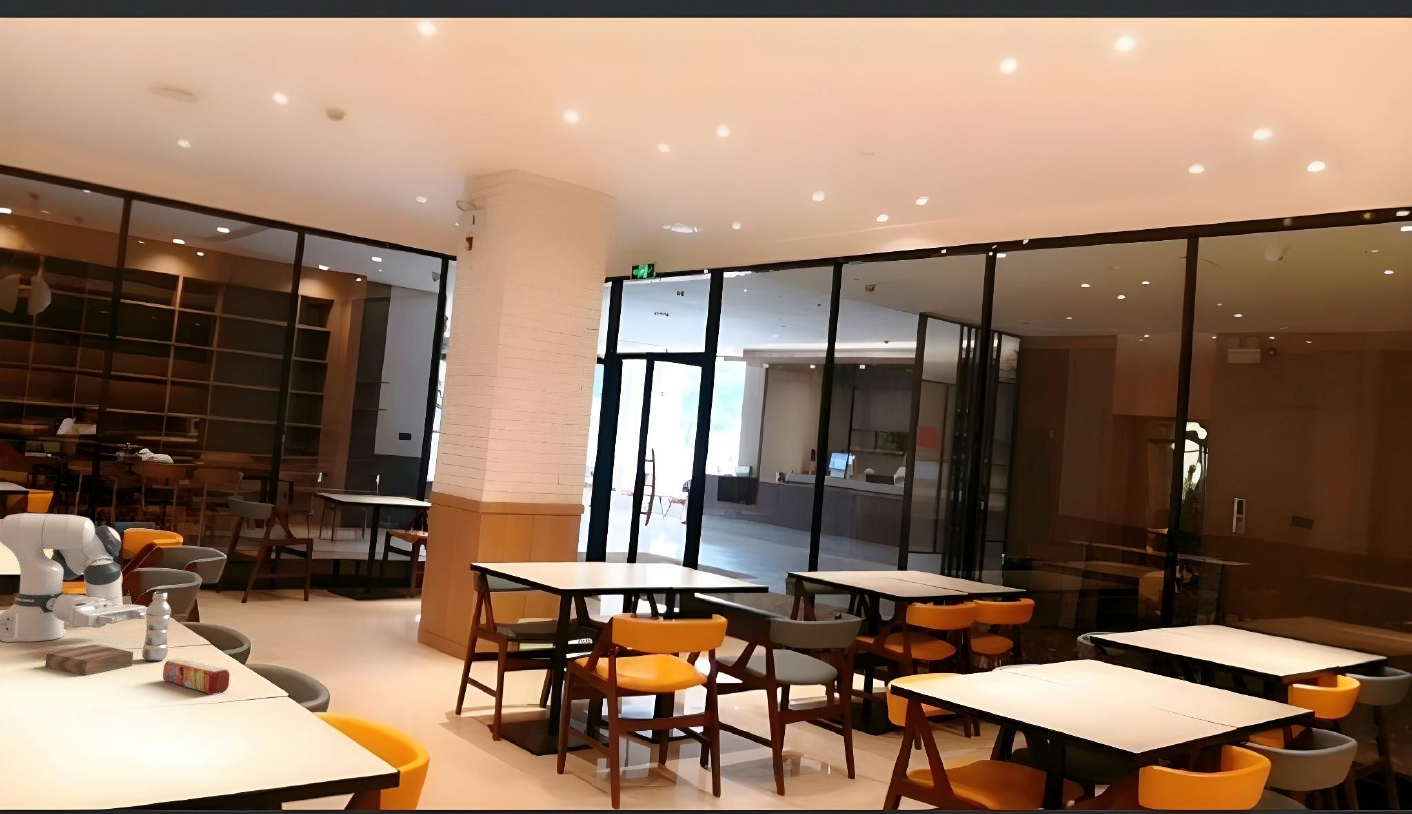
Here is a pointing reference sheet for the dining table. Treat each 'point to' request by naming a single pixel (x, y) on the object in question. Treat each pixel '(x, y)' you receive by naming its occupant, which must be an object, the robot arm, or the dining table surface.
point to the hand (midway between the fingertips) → (129, 618)
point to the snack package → (196, 675)
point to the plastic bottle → (157, 628)
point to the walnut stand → (89, 659)
